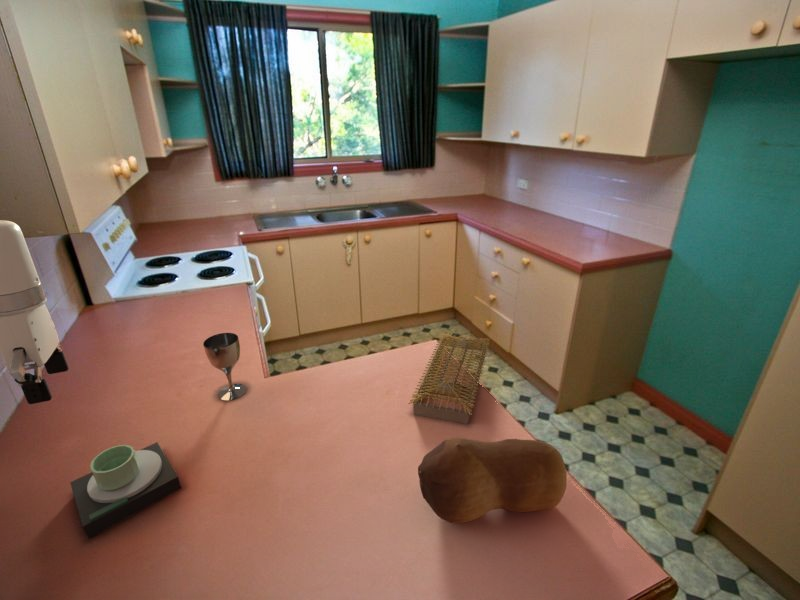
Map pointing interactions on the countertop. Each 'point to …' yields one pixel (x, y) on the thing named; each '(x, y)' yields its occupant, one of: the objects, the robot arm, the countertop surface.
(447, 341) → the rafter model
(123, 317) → the countertop surface
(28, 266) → the robot arm
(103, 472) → the bowl
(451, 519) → the butternut squash
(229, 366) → the wine glass
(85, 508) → the scale
